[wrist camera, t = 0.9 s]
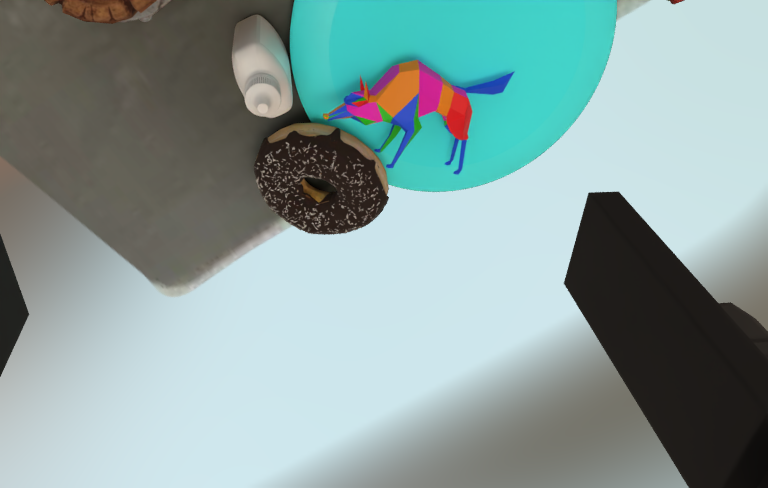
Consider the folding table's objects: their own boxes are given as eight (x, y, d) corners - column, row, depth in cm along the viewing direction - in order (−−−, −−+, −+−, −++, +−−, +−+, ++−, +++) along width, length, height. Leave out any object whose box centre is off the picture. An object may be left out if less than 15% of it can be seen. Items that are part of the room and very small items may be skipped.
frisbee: (231, 103, 52) (230, 114, 50) (412, -240, 41) (419, -242, 39) (480, 227, 63) (487, 240, 62) (676, -15, 52) (691, -8, 50)
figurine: (311, 143, 52) (331, 32, 48) (474, 164, 57) (504, 65, 53) (320, 161, 48) (342, 43, 44) (492, 182, 53) (526, 77, 49)
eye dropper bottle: (292, 15, 49) (298, 68, 40) (289, 84, 53) (294, 148, 43) (235, 10, 49) (227, 63, 39) (235, 81, 52) (229, 146, 42)
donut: (336, 229, 62) (328, 260, 59) (235, 159, 57) (222, 189, 54) (415, 174, 55) (410, 207, 52) (309, 89, 50) (297, 120, 47)
